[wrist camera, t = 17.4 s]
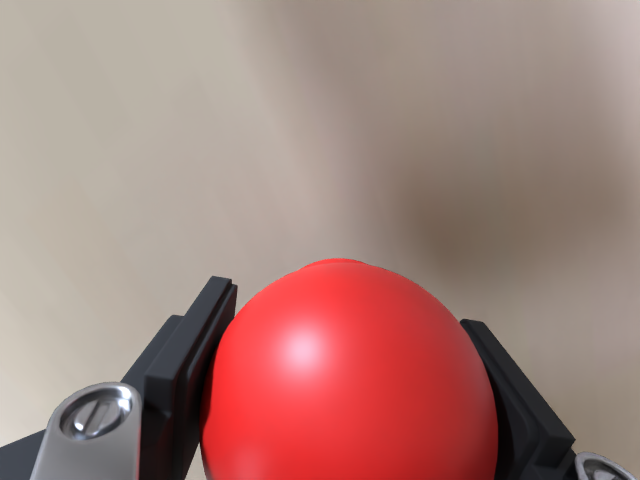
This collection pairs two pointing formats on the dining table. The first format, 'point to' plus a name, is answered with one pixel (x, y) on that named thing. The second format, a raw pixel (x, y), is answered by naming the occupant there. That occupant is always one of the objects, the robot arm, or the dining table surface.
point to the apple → (346, 384)
